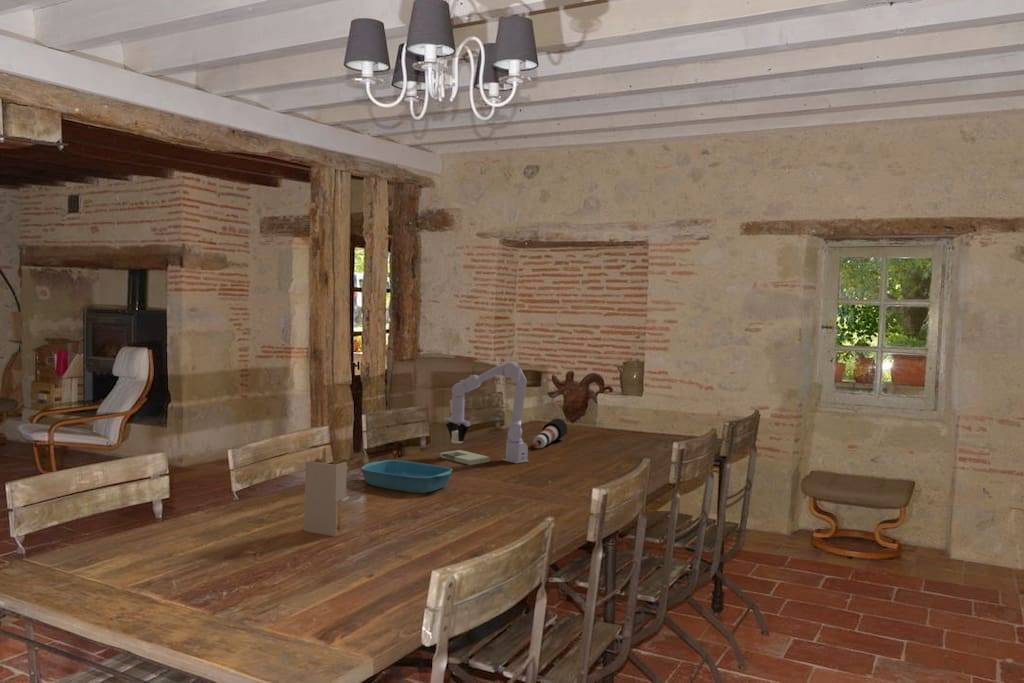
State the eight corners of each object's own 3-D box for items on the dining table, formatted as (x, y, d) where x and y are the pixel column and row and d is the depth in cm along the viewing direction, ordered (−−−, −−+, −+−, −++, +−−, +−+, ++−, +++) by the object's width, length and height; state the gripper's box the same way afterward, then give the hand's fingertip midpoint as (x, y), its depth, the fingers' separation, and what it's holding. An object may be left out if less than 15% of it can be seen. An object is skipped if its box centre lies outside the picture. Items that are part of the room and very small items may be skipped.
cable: (530, 458, 389) (521, 439, 389) (553, 440, 420) (545, 422, 420) (548, 451, 384) (539, 432, 385) (570, 433, 416) (561, 415, 416)
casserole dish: (349, 484, 307) (349, 466, 306) (385, 474, 326) (385, 456, 326) (430, 499, 289) (430, 479, 289) (463, 487, 309) (463, 468, 308)
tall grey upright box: (335, 537, 241) (337, 453, 239) (304, 532, 245) (305, 448, 244) (351, 531, 248) (352, 448, 246) (319, 525, 252) (321, 444, 251)
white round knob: (464, 442, 361) (465, 431, 360) (456, 443, 357) (456, 432, 357) (457, 441, 364) (458, 430, 364) (449, 442, 361) (449, 431, 361)
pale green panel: (490, 461, 356) (490, 457, 356) (469, 465, 348) (469, 460, 348) (460, 454, 371) (460, 450, 370) (439, 457, 362) (440, 453, 362)
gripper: (440, 408, 362) (439, 438, 363) (462, 412, 352) (461, 443, 353) (452, 407, 367) (451, 437, 368) (474, 411, 357) (473, 441, 358)
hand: (457, 440), depth 361 cm, fingers closed on white round knob, 5 cm apart
